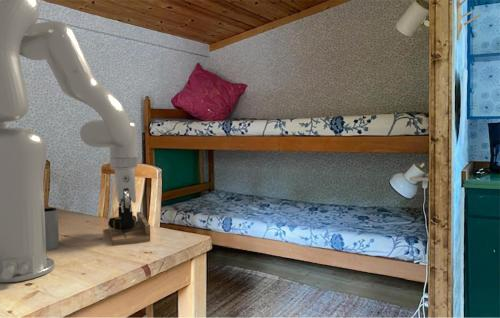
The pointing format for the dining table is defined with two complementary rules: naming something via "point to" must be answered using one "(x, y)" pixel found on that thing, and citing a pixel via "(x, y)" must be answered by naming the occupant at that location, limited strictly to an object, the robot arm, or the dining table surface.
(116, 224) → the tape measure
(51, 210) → the planter
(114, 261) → the dining table surface
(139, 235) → the brown wooden tray
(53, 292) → the dining table surface
